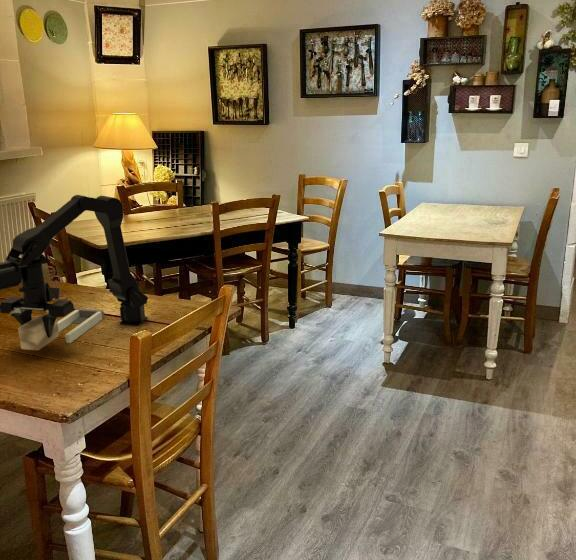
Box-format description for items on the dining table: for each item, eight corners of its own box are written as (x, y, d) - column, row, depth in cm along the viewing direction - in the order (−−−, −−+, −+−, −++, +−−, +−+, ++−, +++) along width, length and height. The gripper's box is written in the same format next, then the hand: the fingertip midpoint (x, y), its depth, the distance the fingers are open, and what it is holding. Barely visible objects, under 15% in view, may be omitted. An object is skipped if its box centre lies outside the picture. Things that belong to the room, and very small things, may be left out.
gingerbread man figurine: (67, 297, 204) (63, 264, 200) (66, 300, 200) (62, 267, 197) (40, 299, 202) (35, 265, 198) (38, 302, 198) (33, 268, 195)
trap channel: (104, 317, 185) (103, 310, 184) (70, 343, 166) (69, 335, 165) (78, 316, 186) (77, 308, 185) (41, 340, 167) (40, 332, 166)
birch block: (59, 335, 163) (56, 315, 162) (38, 350, 154) (35, 329, 152) (42, 334, 164) (40, 314, 162) (21, 349, 155) (18, 328, 153)
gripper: (81, 274, 160) (87, 327, 165) (19, 271, 164) (27, 323, 168) (59, 287, 150) (66, 343, 155) (-7, 283, 153) (2, 338, 158)
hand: (40, 336), depth 159 cm, fingers closed on birch block, 5 cm apart
